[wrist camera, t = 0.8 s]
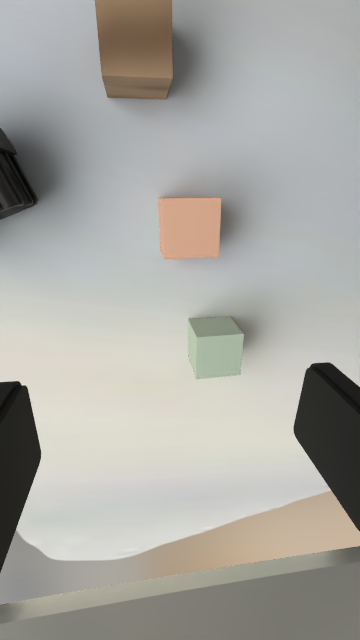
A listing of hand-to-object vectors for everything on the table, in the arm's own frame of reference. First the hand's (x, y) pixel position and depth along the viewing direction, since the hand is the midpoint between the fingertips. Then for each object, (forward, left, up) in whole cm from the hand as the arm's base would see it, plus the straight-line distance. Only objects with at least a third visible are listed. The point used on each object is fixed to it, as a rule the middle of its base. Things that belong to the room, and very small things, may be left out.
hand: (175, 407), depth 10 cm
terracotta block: (-4, +4, -23) cm, 24 cm away
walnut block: (-17, 0, -23) cm, 29 cm away
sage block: (+9, +7, -23) cm, 26 cm away
